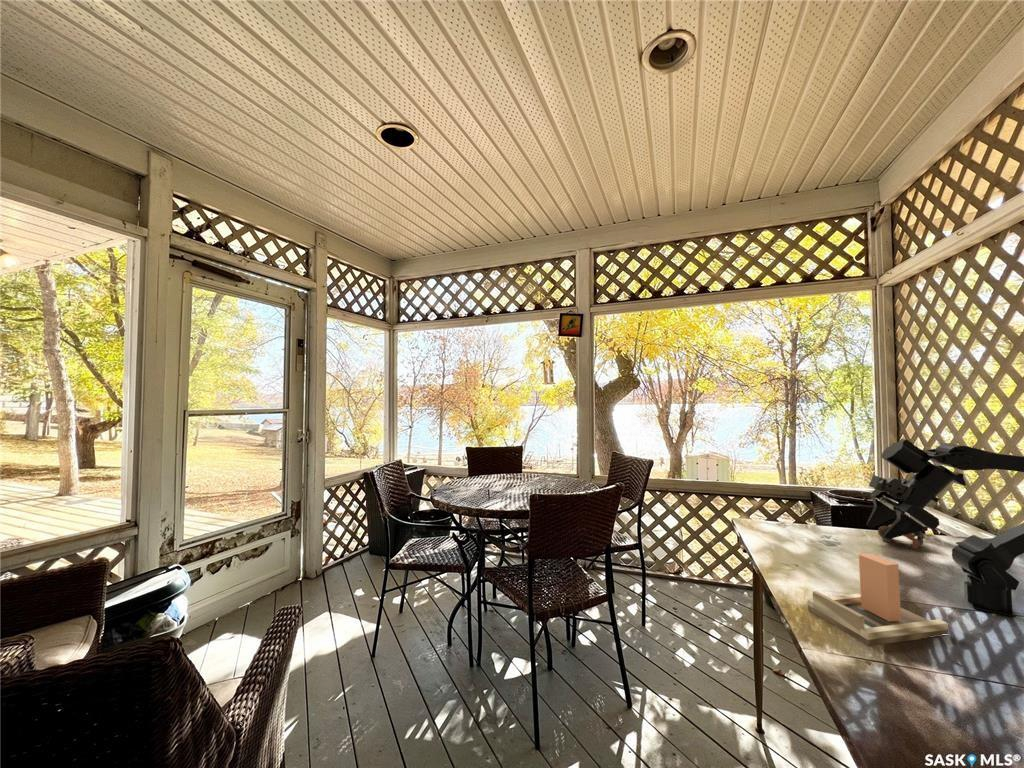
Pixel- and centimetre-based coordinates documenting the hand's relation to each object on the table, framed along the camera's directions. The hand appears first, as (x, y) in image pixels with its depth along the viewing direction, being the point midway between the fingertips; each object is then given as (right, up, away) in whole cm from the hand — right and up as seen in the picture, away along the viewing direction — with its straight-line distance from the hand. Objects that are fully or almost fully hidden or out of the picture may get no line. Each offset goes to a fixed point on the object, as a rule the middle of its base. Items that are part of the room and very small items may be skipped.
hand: (876, 531), depth 102 cm
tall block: (-10, -14, -12) cm, 21 cm away
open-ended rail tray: (-12, -15, -13) cm, 23 cm away
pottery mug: (+37, -16, +32) cm, 51 cm away
